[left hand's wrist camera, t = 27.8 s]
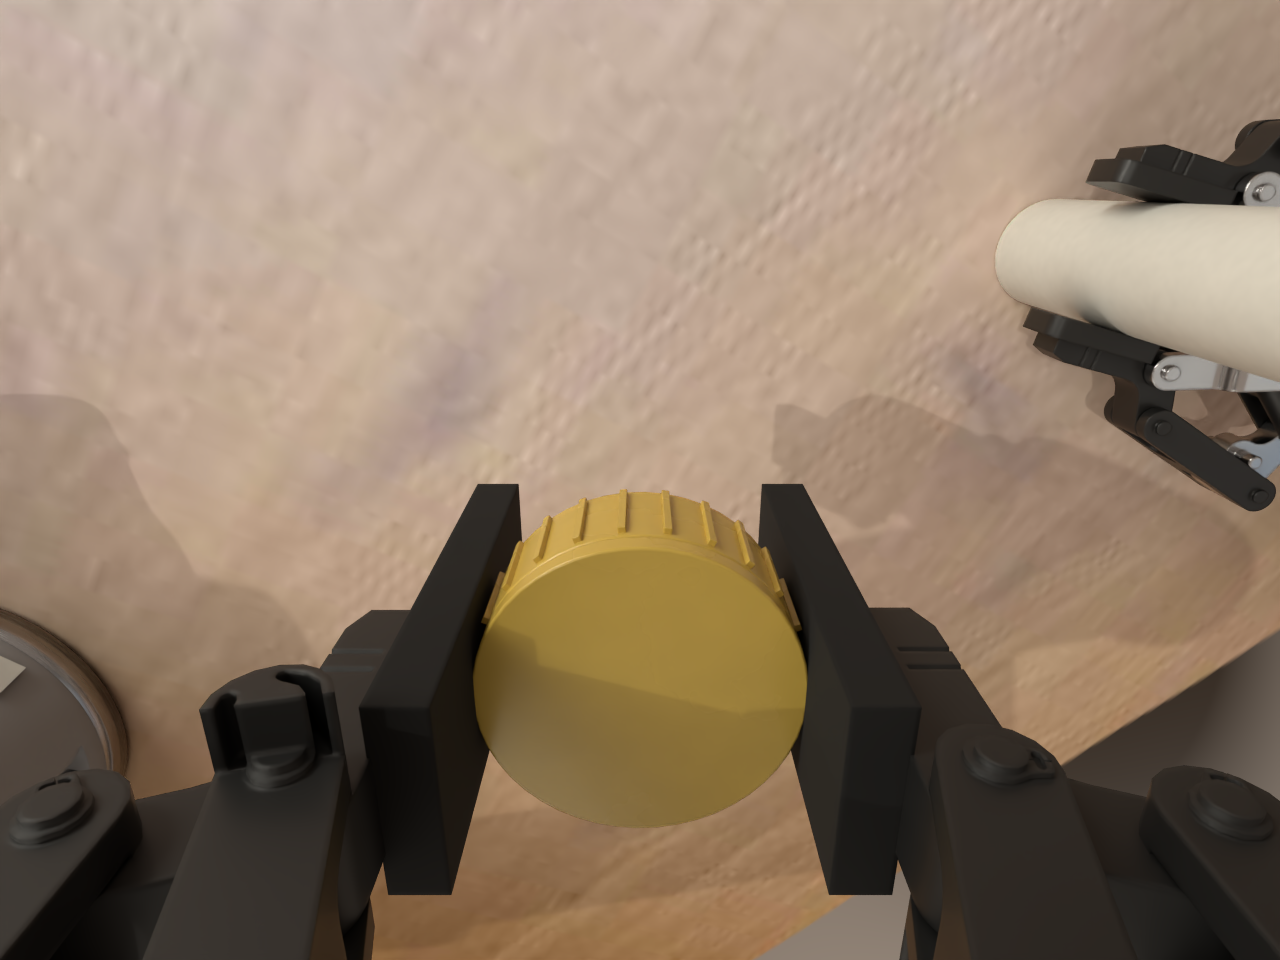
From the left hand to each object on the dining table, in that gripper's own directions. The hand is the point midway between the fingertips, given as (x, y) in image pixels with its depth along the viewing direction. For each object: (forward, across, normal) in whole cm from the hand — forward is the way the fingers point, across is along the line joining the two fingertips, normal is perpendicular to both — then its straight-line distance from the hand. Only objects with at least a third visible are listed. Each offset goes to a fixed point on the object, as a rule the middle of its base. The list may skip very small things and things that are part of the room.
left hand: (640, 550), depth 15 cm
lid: (-4, 0, 0) cm, 4 cm away
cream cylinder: (+20, +17, +4) cm, 26 cm away
